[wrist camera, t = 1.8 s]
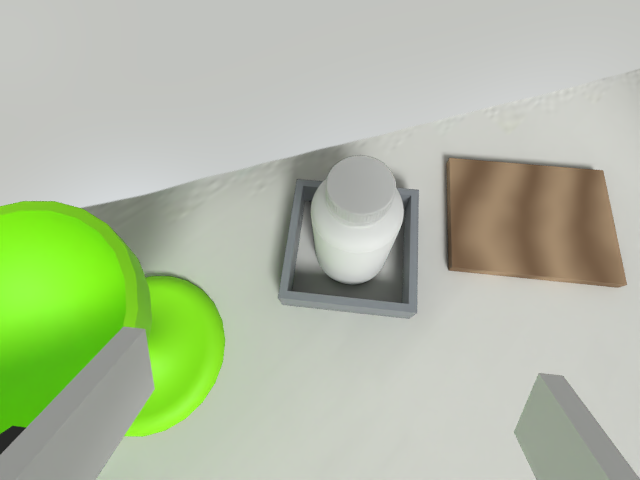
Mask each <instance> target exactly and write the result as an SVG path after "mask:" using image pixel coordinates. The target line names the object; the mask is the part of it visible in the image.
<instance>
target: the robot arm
mask: <svg viewBox="0 0 640 480" xmlns="http://www.w3.org/2000/svg"><path fill="white" fill-rule="evenodd" d="M154 390H155V387H154V381H153V375H152V368H151V362H150V356H149V349H148V343H147V337H146V331H145V329H141V328H132V327H123V328H122V329H121V330H120V331H119V332H118V333H117V334H116V335H115V336H114V337H113V338H112V339H111V340H110V341H109V342H108V343H107V344H106V345H105V346H104V347H103V348H102V349H101V351H100V352H99V353H98V354H97V355H96V356H95V357H94V358H93V359H92V360H91V361H90V362H89V363H88V364H87V365H86V366H85V367H84V368H83V369H82V370H81V371H80V372H79V373H78V374H77V376H76V377H75V378H74V379H73V380H72V381H71V382H70V383H69V384H68V385H67V386H66V387H65V388H64V389H63V390H62V391H61V392H60V393H59V394H58V395H57V396H56V397H55V398H54V399H53V400H52V402H51V403H50V404H49V405H48V406H47V407H46V408H45V409H44V410H43V411H42V412H41V413H40V414H39V415H38V416H37V417H36V418H35V419H34V420H33V421H32V422H31V423H30V424H29V425H28V426H27V427H19V426H11V427H10V428H8V429H7V430H5V431H4V432H2V433H1V434H0V480H96V478H97V477H98V475H99V473H100V472H101V470H102V469H103V467H104V466H105V464H106V463H107V461H108V460H109V458H110V457H111V455H112V454H113V452H114V451H115V449H116V448H117V446H118V444H119V443H120V441H121V440H122V438H123V437H124V435H125V434H126V432H127V431H128V429H129V428H130V426H131V425H132V423H133V422H134V420H135V419H136V417H137V415H138V414H139V412H140V411H141V409H142V408H143V406H144V405H145V403H146V402H147V400H148V399H149V397H150V396H151V394H152V393H153V391H154ZM514 433H515V435H516V438H517V440H518V442H519V444H520V446H521V448H522V450H523V452H524V454H525V456H526V459H527V461H528V463H529V465H530V467H531V469H532V471H533V473H534V475H535V477H536V480H640V479H639V477H638V476H637V475H636V473H635V472H634V471H633V469H632V468H631V467H630V465H629V464H628V463H627V461H626V460H625V459H624V457H623V456H622V454H621V453H620V452H619V450H618V449H617V448H616V446H615V445H614V444H613V442H612V441H611V440H610V438H609V437H608V436H607V434H606V433H605V432H604V430H603V429H602V428H601V426H600V425H599V423H598V422H597V421H596V419H595V418H594V417H593V415H592V414H591V413H590V411H589V410H588V409H587V407H586V406H585V405H584V403H583V402H582V401H581V399H580V398H579V397H578V395H577V394H576V392H575V391H574V390H573V388H572V387H571V386H570V384H569V383H568V382H567V380H566V379H565V378H564V376H560V375H551V374H543V373H539V374H538V376H537V379H536V381H535V383H534V386H533V388H532V391H531V393H530V395H529V398H528V400H527V402H526V405H525V407H524V410H523V412H522V414H521V417H520V419H519V421H518V424H517V426H516V429H515V431H514Z"/></svg>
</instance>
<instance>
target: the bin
mask: <svg viewBox="0 0 640 480" xmlns="http://www.w3.org/2000/svg"><path fill="white" fill-rule="evenodd" d="M322 182H323V181H312V180H301V179H297V182H296V188H295V195H294V201H293V207H292V213H291V220H290V226H289V232H288V239H287V245H286V251H285V257H284V264H283V270H282V276H281V282H280V289H279V295H278V299H279V300H280V302H281V303H282V305H290V306H299V307H308V308H317V309H326V310H335V311H344V312H353V313H362V314H371V315H380V316H389V317H399V318H408V319H409V318H411V317H412V316H414V315H415V314H416V313H417V277H418V204H419V190H415V189H404V188H397V190H398V192H399V194H400V196H401V199H402V202H403V208H404V210H405V219H404V253H403V287H402V303H396V302H386V301H377V300H368V299H359V298H349V297H340V296H331V295H322V294H312V293H303V292H294V291H292V286H293V279H294V273H295V266H296V259H297V252H298V245H299V238H300V231H301V225H302V218H303V211H304V204H305V201H312V199H313V196H314V194H315V192H316V190H317V189H318V187H319V186H320V184H321V183H322Z"/></svg>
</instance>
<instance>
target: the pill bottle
mask: <svg viewBox="0 0 640 480" xmlns="http://www.w3.org/2000/svg"><path fill="white" fill-rule="evenodd" d="M403 216H404V208H403V202H402V199H401V196H400V194H399V192H398V190H397V188H396V180H395V177H394V175H393V174H392V171H391V170H390V169H389V168H388V167H387V166H386V165H385V164H384V163H383V162H381V161H380V160H378V159H376V158H373V157H369V156H363V155H357V156H351V157H347V158H345V159H343V160H341V161H339V162H338V163H337V164H335V166H333V168H331V170H330V171H329V173H328V176H327V178H326V179H325V180H324V181H323V182H322V183H321V184H320V186H319V187H318V189H317V190H316V192H315V194H314V196H313V199H312V203H311V220H312V227H313V235H314V242H315V249H316V256H317V260H318V262H319V264H320V266H321V268H322V269H323V271H324V272H325V273H326V274H327V275H328V276H329V277H331V278H332V279H334V280H336V281H338V282H340V283H344V284H360V283H364V282H366V281H368V280H370V279H372V278H373V277H374V276H376V275H377V274H378V273H379V271H380V270H381V269H382V267H383V266H384V264H385V261H386V259H387V257H388V255H389V253H390V250H391V248H392V246H393V244H394V241H395V239H396V237H397V235H398V232H399V230H400V228H401V225H402V222H403Z"/></svg>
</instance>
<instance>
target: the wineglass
mask: <svg viewBox="0 0 640 480" xmlns="http://www.w3.org/2000/svg"><path fill="white" fill-rule="evenodd" d="M123 327H132V328H141V329H145V331H146V337H147V343H148V349H149V356H150V362H151V368H152V375H153V381H154V387H155V390H154V391H153V393H152V394H151V396H150V397H149V399H148V400H147V402H146V403H145V405H144V406H143V408H142V409H141V411H140V412H139V414H138V415H137V417H136V419H135V420H134V422H133V423H132V425H131V426H130V428H129V429H128V431H127V432H126V434H125V435H124V436H147V435H151V434H154V433H158V432H162V431H165V430H167V429H169V428H170V427H172V426H174V425H175V424H177V423H179V422H181V421H182V420H184V419H186V418H187V417H188V416H189V415H190V414H191V413H192V412H193V411H194V410H195V409H196V408H197V407H198V406H199V405H200V404H201V403H202V402H203V401H204V399H205V398H206V396H207V395H208V393H209V391H210V390H211V388H212V387H213V385H214V384H215V382H216V379H217V376H218V374H219V371H220V368H221V365H222V362H223V356H224V346H225V336H224V329H223V323H222V319H221V317H220V315H219V312H218V310H217V308H216V306H215V304H214V303H213V301H212V300H211V299H210V298H209V297H208V296H207V294H206V293H205V292H204V291H203V290H202V289H200V288H198V287H197V286H195V285H194V284H192V283H190V282H189V281H186V280H183V279H179V278H176V277H172V276H150V277H146V278H145V275H144V273H143V270H142V268H141V265H140V262H139V260H138V258H137V257H136V256H135V255H134V253H133V252H132V251H131V250H130V249H129V247H128V246H127V245H126V244H125V243H124V241H123V240H122V239H121V238H120V237H119V236H118V235H117V234H116V233H115V232H114V231H113V230H112V229H111V228H110V226H109V225H108V224H106V223H105V222H103V221H102V220H100V219H98V218H97V217H95V216H94V215H92V214H90V213H89V212H87V211H86V210H84V209H81V208H78V207H74V206H70V205H66V204H62V203H58V202H55V201H48V202H47V201H23V202H18V203H13V204H9V205H4V206H0V434H1V433H2V432H4V431H5V430H7V429H8V428H10V427H11V426H19V427H27V426H28V425H29V424H30V423H31V422H32V421H33V420H34V419H35V418H36V417H37V416H38V415H39V414H40V413H41V412H42V411H43V410H44V409H45V408H46V407H47V406H48V405H49V404H50V403H51V402H52V400H53V399H54V398H55V397H56V396H57V395H58V394H59V393H60V392H61V391H62V390H63V389H64V388H65V387H66V386H67V385H68V384H69V383H70V382H71V381H72V380H73V379H74V378H75V377H76V376H77V374H78V373H79V372H80V371H81V370H82V369H83V368H84V367H85V366H86V365H87V364H88V363H89V362H90V361H91V360H92V359H93V358H94V357H95V356H96V355H97V354H98V353H99V352H100V351H101V349H102V348H103V347H104V346H105V345H106V344H107V343H108V342H109V341H110V340H111V339H112V338H113V337H114V336H115V335H116V334H117V333H118V332H119V331H120V330H121V329H122V328H123Z"/></svg>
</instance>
